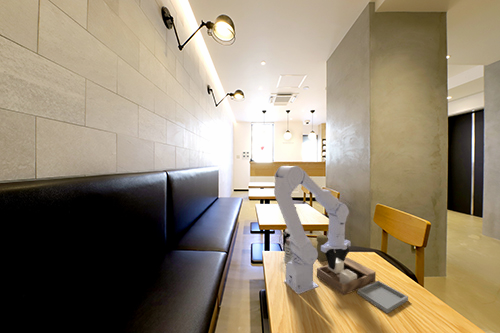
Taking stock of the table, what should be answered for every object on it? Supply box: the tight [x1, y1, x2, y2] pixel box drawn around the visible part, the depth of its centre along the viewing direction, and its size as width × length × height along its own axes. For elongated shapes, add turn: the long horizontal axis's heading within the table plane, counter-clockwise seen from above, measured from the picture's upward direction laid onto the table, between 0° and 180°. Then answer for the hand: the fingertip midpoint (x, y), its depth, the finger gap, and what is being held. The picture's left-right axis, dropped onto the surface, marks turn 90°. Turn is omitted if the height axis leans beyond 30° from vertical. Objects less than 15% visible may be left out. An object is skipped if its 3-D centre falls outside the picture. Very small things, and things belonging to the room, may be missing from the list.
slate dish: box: [357, 280, 409, 314], centre depth 60 cm, size 12×9×2 cm
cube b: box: [340, 269, 357, 285], centre depth 66 cm, size 4×4×4 cm
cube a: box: [327, 258, 344, 274], centre depth 71 cm, size 4×4×4 cm
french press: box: [278, 206, 297, 264], centre depth 83 cm, size 10×12×25 cm
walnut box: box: [316, 257, 377, 296], centre depth 69 cm, size 18×12×4 cm, turn 116°
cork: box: [315, 234, 328, 263], centre depth 85 cm, size 6×6×11 cm
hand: (335, 266), depth 71 cm, fingers closed on cube a, 4 cm apart
